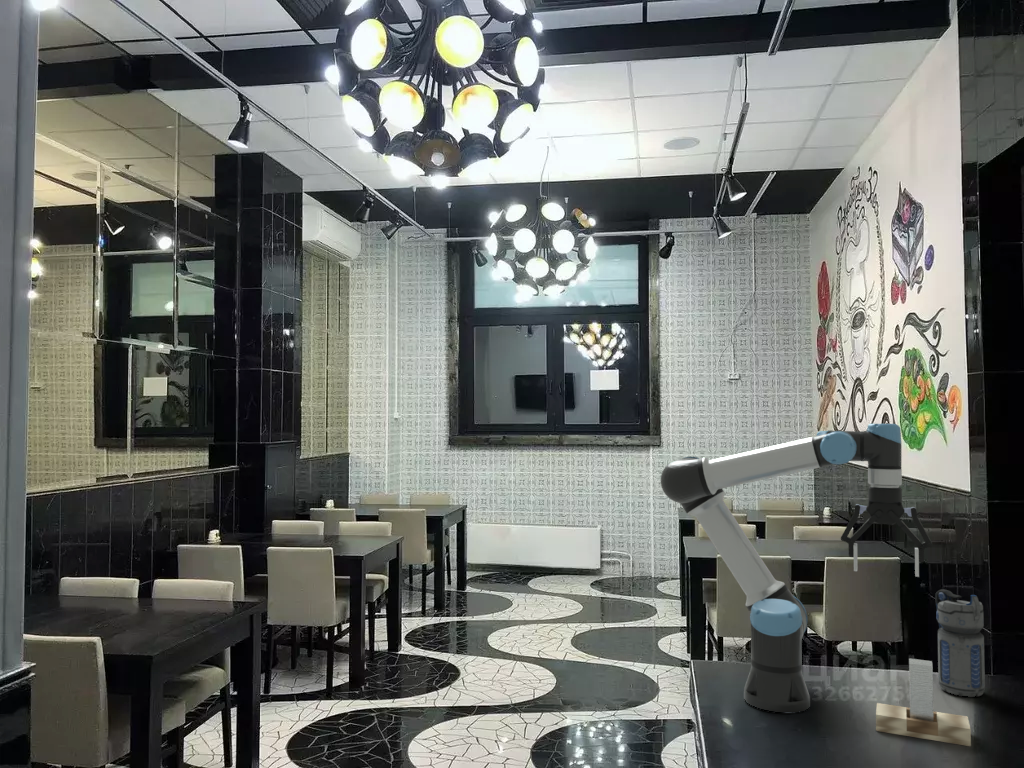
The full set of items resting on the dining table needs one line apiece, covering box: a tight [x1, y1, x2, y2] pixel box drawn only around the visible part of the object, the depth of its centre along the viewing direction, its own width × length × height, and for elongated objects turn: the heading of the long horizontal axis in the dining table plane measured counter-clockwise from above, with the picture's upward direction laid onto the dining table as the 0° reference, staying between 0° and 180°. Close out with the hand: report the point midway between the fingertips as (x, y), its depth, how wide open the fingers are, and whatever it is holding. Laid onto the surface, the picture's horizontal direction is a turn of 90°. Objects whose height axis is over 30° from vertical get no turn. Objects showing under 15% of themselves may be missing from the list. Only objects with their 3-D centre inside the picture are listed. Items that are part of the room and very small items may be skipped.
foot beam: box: [875, 702, 972, 747], centre depth 172 cm, size 18×8×4 cm, turn 64°
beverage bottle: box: [934, 588, 986, 698], centre depth 199 cm, size 10×13×25 cm
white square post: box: [908, 658, 934, 722], centre depth 173 cm, size 4×4×14 cm
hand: (885, 573), depth 193 cm, fingers open, 13 cm apart
